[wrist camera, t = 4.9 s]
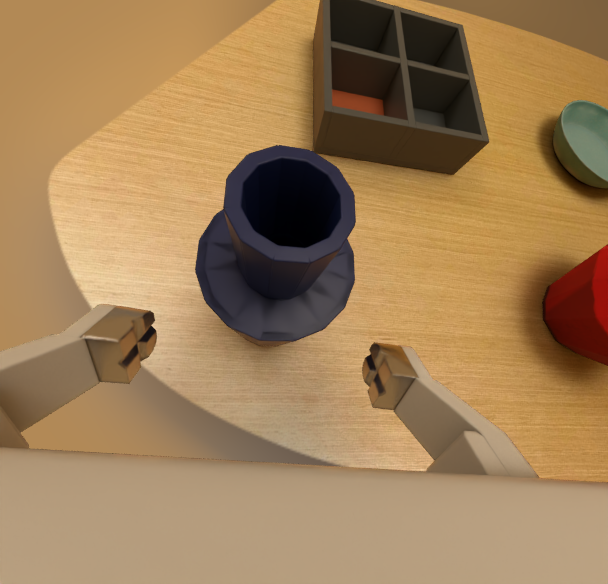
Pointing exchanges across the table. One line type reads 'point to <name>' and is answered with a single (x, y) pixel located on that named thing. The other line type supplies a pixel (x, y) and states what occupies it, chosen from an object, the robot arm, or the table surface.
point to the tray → (394, 87)
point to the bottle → (581, 308)
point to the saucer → (583, 142)
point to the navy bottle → (279, 247)
